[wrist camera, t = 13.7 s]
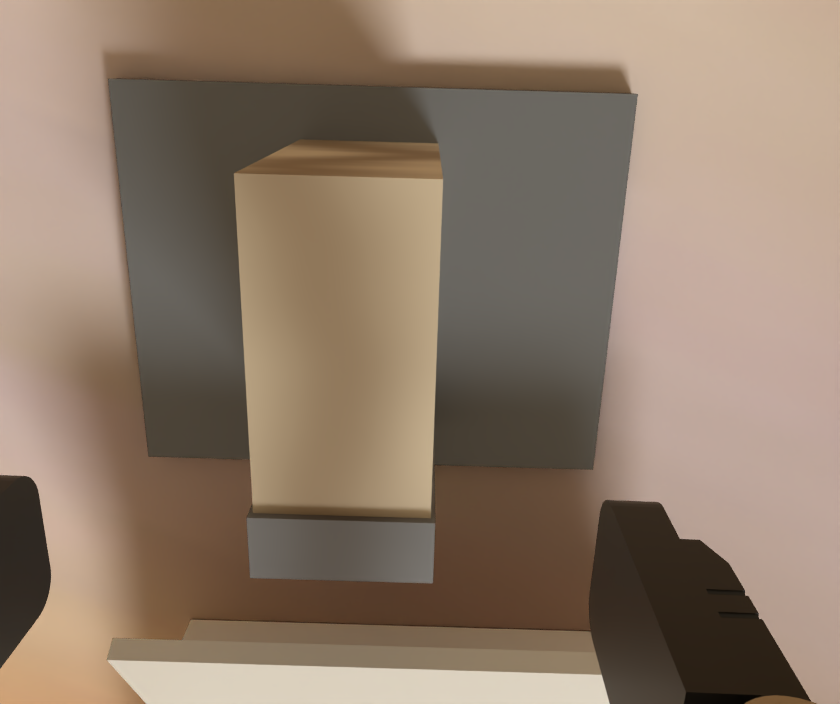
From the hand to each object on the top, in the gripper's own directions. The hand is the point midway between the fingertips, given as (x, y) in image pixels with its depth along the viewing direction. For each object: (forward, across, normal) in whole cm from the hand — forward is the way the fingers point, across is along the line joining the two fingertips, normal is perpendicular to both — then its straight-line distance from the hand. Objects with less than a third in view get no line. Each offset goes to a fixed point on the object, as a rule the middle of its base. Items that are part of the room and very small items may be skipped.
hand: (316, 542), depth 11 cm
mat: (+14, 0, 0) cm, 14 cm away
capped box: (+14, 0, 0) cm, 14 cm away
